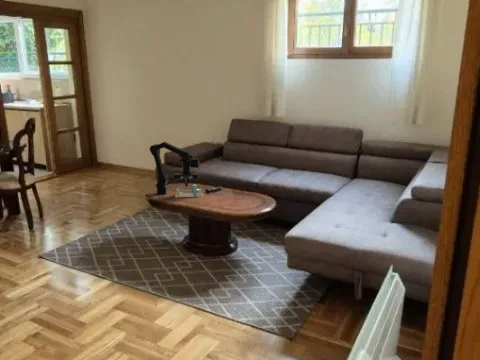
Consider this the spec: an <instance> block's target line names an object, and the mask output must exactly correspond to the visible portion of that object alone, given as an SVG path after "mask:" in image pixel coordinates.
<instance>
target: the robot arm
mask: <svg viewBox="0 0 480 360" xmlns="http://www.w3.org/2000/svg"><path fill="white" fill-rule="evenodd" d="M161 149H166V150H168V151H171V152H173V153H175V154H177V155H178V156H179V157H180V160H179V162H181V163H182V166H181V167H182V169H181V170H182V172H181V174H180V173H179V172H178V173H174V174H173V179H179V178H181V180H182V181H183V183H184V185H185V187H186V188H187V187H188V184H189V182H190V180H192V178H193V179H195V180H196V179H199V173H197V172H196V173H193V174H192V172H191V168H193V169H195V168H196V169H199V168H200V167H201V162H200V160H199V158H194V157H193V155H191V152H190V150H187V149H184V148H183V149H182V148H179V147H177V146H176V145H172V144H170V143H169V142H167V141H163V142H161V143H158V144H157V143H154V144H153V145H150V147H149V152H150V154H151V155H152V156H153V159H154V162H155V166H156V169H157V170H156V171H157V173H158V174H157V175H158V177H157V181H158V182H157V183H156V184H155V187H156V191H157V192H156V195H157V196H163V195H164V196H165V195H166V194H167V187H166V186H167V184H168V183H169V179H170V178H169V175H168V173H167V174H166V173H165V170H164V166H163V163H162V160H161Z"/></svg>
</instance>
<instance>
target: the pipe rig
mask: <svg viewBox="0 0 480 360" xmlns="http://www.w3.org/2000/svg"><path fill="white" fill-rule="evenodd" d="M175 191H176V192H175V196H174V198H203V195H204V194H203V193H202V188H201V187H200V188H199V187H198V188H197V195H193V188H187V189H186V188H185V189H184V188H183V189H182V188H181V189H180V188H179V187H178V188H176V189H175Z"/></svg>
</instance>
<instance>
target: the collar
mask: <svg viewBox="0 0 480 360" xmlns="http://www.w3.org/2000/svg"><path fill="white" fill-rule="evenodd" d="M192 189H193V192H192V193H193V195H197V193H198V192H197V189H198V185H197V184H196V183H195V184H192Z"/></svg>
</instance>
